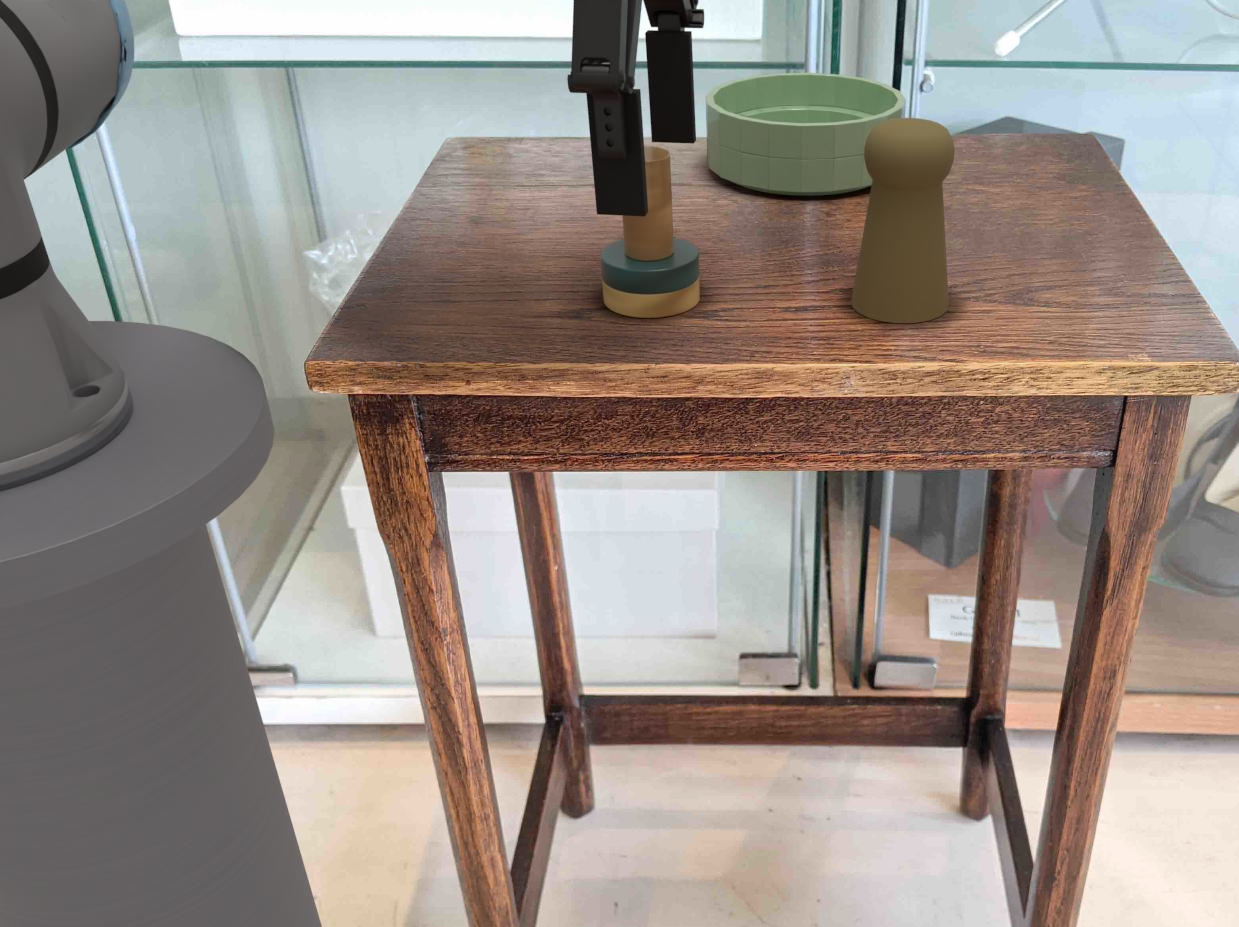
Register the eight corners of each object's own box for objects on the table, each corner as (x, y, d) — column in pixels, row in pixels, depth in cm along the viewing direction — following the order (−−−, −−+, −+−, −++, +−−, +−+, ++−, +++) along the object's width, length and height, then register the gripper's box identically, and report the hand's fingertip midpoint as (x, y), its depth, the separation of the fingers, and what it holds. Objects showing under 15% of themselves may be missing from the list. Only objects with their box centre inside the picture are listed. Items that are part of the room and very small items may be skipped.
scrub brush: (642, 326, 78) (633, 176, 73) (584, 297, 81) (572, 152, 76) (719, 300, 81) (716, 155, 76) (660, 273, 85) (653, 133, 79)
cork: (864, 327, 78) (873, 140, 71) (840, 288, 83) (846, 111, 76) (961, 319, 79) (978, 134, 72) (932, 282, 84) (945, 106, 77)
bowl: (798, 215, 94) (799, 137, 91) (669, 166, 103) (666, 94, 100) (940, 172, 102) (946, 100, 99) (808, 130, 112) (810, 63, 109)
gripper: (639, -239, 54) (667, 253, 66) (739, -261, 74) (746, 118, 86) (466, -238, 55) (525, 247, 67) (611, -261, 75) (636, 115, 87)
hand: (650, 175), depth 77 cm, fingers open, 13 cm apart
